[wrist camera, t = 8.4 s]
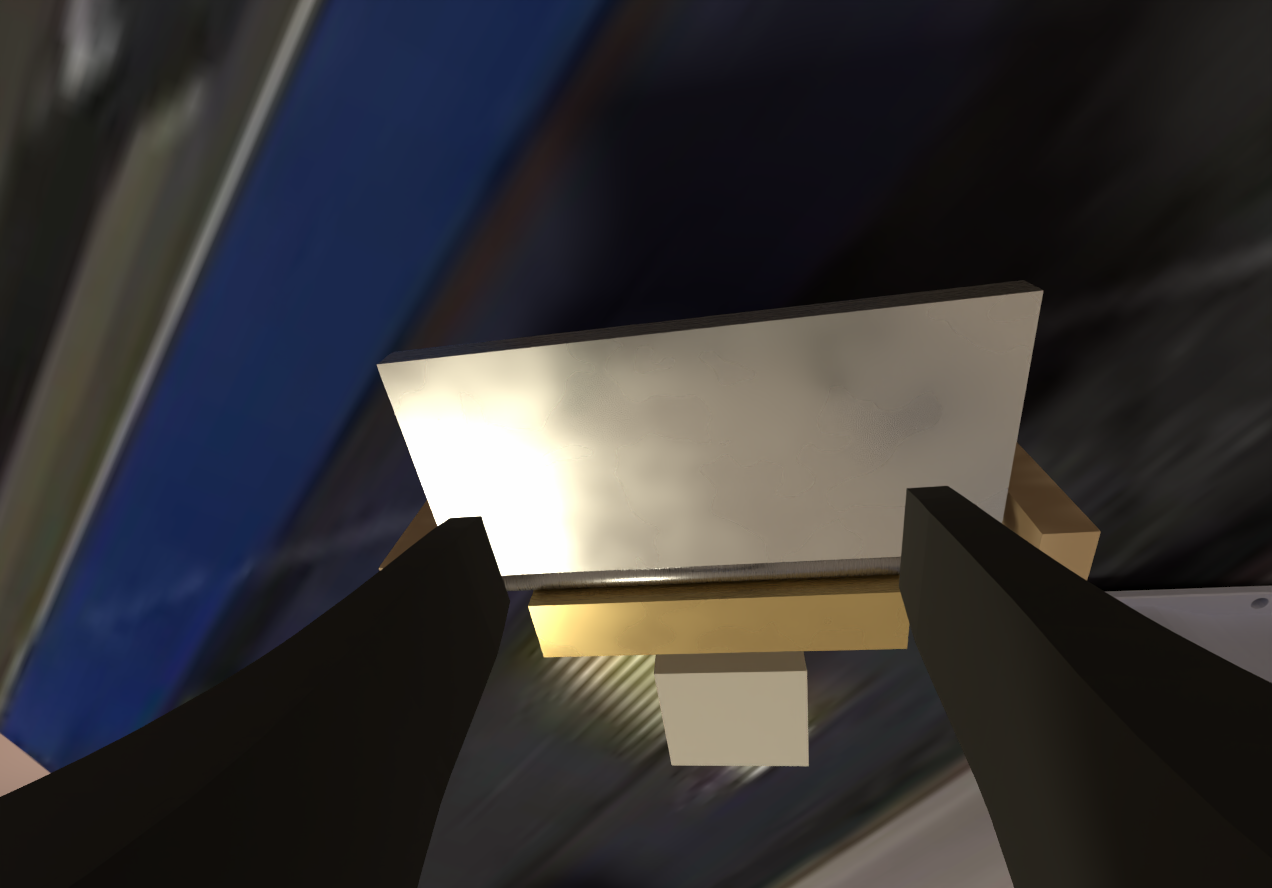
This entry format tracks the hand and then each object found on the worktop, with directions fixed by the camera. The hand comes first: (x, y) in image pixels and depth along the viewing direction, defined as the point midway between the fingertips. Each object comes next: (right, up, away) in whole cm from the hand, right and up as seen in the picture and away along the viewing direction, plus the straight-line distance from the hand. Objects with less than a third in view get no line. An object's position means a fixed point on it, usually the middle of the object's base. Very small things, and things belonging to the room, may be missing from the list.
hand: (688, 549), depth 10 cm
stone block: (+3, -5, +15) cm, 16 cm away
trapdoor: (+1, +1, +5) cm, 6 cm away
